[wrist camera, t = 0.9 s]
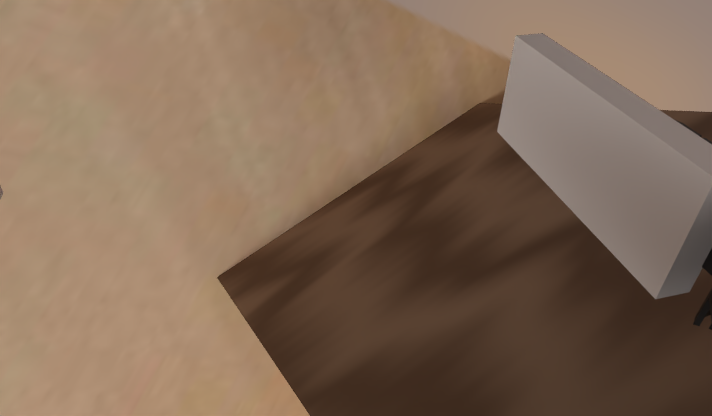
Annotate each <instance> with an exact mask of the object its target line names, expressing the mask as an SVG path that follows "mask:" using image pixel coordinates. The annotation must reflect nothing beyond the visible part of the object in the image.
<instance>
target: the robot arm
mask: <svg viewBox="0 0 712 416" xmlns="http://www.w3.org/2000/svg"><path fill="white" fill-rule="evenodd" d="M497 132H498V133H499V134H500V135H501V136H502V137H503V139H504V140H505V141H506V142H507V143H508V144H509V145H510V146H511V147H512V148H513V149H514V150H515V151H516V152H517V153H518V154H519V155H520V157H521V158H522V159H523V160H524V161H525V162H526V163H527V164H528V165H529V166H530V167H531V168H532V169H533V170H534V171H535V172H536V173H537V174H538V176H539V177H540V178H541V179H542V180H543V181H544V182H545V183H546V184H547V185H548V186H549V187H550V188H551V189H552V190H553V191H554V192H555V194H556V195H557V196H558V197H559V198H560V199H561V200H562V201H563V202H564V203H565V204H566V205H567V206H568V207H569V208H570V209H571V210H572V212H573V213H574V214H575V215H576V216H577V217H578V218H579V219H580V220H581V221H582V222H583V223H584V224H585V225H586V226H587V227H588V228H589V229H590V231H591V232H592V233H593V234H594V235H595V236H596V237H597V238H598V239H599V240H600V241H601V242H602V243H603V244H604V245H605V246H606V247H607V249H608V250H609V251H610V252H611V253H612V254H613V255H614V256H615V257H616V258H617V259H618V260H619V261H620V262H621V263H622V264H623V265H624V267H625V268H626V269H627V270H628V271H629V272H630V273H631V274H632V275H633V276H634V277H635V278H636V279H637V280H638V281H639V282H640V283H641V285H642V286H643V287H644V288H645V289H646V290H647V291H648V292H649V293H650V294H651V295H652V296H653V297H654V298H655V299H659V298H664V297H669V296H674V295H679V294H683V293H688V292H690V290H691V288H692V286H693V285H694V283H695V281H696V279H697V277H698V276H699V274H700V272H701V270H702V268H704V269H705V270H706V271H707V272H708V273H709V274H710V275H711V276H712V142H711V141H710V140H708V139H707V138H702V137H701V136H702V135H701V134H699V133H697V132H696V131H694V130H693V129H691V128H690V127H688V126H687V125H685V124H684V123H682V122H679V121H677V120H674V119H672V118H671V117H669V116H668V115H666V114H665V113H663V112H662V111H660V110H658V109H657V108H656V107H654V106H652V105H651V104H649V103H648V102H646V101H645V100H643V99H642V98H640V97H639V96H637V95H636V94H634V93H633V92H631V91H630V90H628V89H627V88H625V87H623V86H622V85H621V84H619V83H618V82H616V81H614V80H613V79H611V78H610V77H608V76H607V75H605V74H603V73H602V72H601V71H599V70H598V69H596V68H595V67H593V66H592V65H590V64H589V63H587V62H586V61H584V60H583V59H581V58H580V57H578V56H576V55H575V54H573V53H572V52H570V51H569V50H567V49H566V48H564V47H563V46H561V45H560V44H558V43H557V42H555V41H554V40H552V39H551V38H549V37H548V36H546V35H544V34H543V33H541V34H529V35H517V36H515V42H514V47H513V52H512V57H511V62H510V67H509V73H508V78H507V83H506V88H505V93H504V98H503V104H502V109H501V114H500V119H499V124H498V129H497ZM2 194H3V191H2V189H1V187H0V199H1V197H2ZM709 315H711V325H710V326H709V329H710V330H712V288H711V290H710V292H709V293H708V295H707V297H706V299H705V300H704V302H703V304H702V306H701V307H700V309H699V311H698V312H697V314H696V316H695V319H694V322H693V325H697V326H700V324H701V323H702V321H703V319H704V318H705V317H707V316H709Z"/></svg>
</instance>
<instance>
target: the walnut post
mask: <svg viewBox="0 0 712 416" xmlns="http://www.w3.org/2000/svg"><path fill="white" fill-rule="evenodd" d="M501 109H502V104H486V103H480V104H478V105H477V106H475V107H474V108H472V109H471V110H469V111H468V112H466V113H465V114H463V115H462V116H460V117H459V118H457V119H455V120H454V121H452V122H451V123H449V124H448V125H446V126H445V127H443V128H442V129H440V130H439V131H437V132H436V133H434V134H433V135H431V136H430V137H428V138H427V139H425V140H424V141H422V142H421V143H419V144H418V145H416V146H415V147H413V148H412V149H410V150H409V151H407V152H406V153H404V154H403V155H401V156H400V157H398V158H397V159H395V160H394V161H392V162H391V163H389V164H388V165H386V166H385V167H383V168H382V169H380V170H379V171H377V172H376V173H374V174H373V175H371V176H370V177H368V178H367V179H365V180H364V181H362V182H361V183H359V184H357V185H356V186H354V187H353V188H351V189H350V190H348V191H347V192H345V193H344V194H342V195H341V196H339V197H338V198H336V199H335V200H333V201H332V202H330V203H329V204H327V205H326V206H324V207H323V208H321V209H320V210H318V211H317V212H315V213H314V214H312V215H311V216H309V217H308V218H306V219H305V220H303V221H302V222H300V223H299V224H297V225H296V226H294V227H293V228H291V229H290V230H288V231H287V232H285V233H284V234H282V235H281V236H279V237H278V238H276V239H275V240H273V241H272V242H270V243H269V244H267V245H266V246H264V247H263V248H261V249H259V250H258V251H256V252H255V253H253V254H252V255H250V256H249V257H247V258H246V259H244V260H243V261H241V262H240V263H238V264H237V265H235V266H234V267H232V268H231V269H229V270H228V271H226V272H225V273H223V274H222V275H220V276H219V277H217V278H218V279H219V281H220V282H221V284H222V285H223V287H224V288H225V290H226V291H227V293H228V294H229V296H230V297H231V299H232V300H233V302H234V303H235V305H236V306H237V308H238V309H239V311H240V312H241V314H242V315H243V317H244V318H245V320H246V321H247V323H248V324H249V325H250V327H251V328H252V330H253V331H254V333H255V334H256V336H257V337H258V339H259V340H260V342H261V343H262V345H263V346H264V348H265V349H266V351H267V352H268V354H269V355H270V357H271V358H272V360H273V361H274V363H275V364H276V366H277V367H278V369H279V370H280V372H281V373H282V375H283V376H284V377H285V379H286V380H287V382H288V383H289V385H290V386H291V388H292V389H293V391H294V392H295V394H296V395H297V397H298V398H299V400H300V401H301V403H302V404H303V406H304V407H305V409H306V410H307V412H308V413H309V415H310V416H712V330H710V329H709V326H710V325H711V315H709V316H707V317H705V318H704V319H703V321H702V323H701V324H700V326H697V325H693V322H694V319H695V316H696V314H697V312H698V311H699V309H700V307H701V306H702V304H703V302H704V300H705V299H706V297H707V295H708V293H709V292H710V290H711V288H712V276H711V275H710V274H709V273H708V272H707V271H706V270H705V269H704V268H702V270H701V272H700V274H699V276H698V277H697V279H696V281H695V283H694V285H693V286H692V288H691V290H690V292H688V293H683V294H679V295H674V296H669V297H664V298H659V299H655V298H654V297H653V296H652V295H651V294H650V293H649V292H648V291H647V290H646V289H645V288H644V287H643V286H642V285H641V283H640V282H639V281H638V280H637V279H636V278H635V277H634V276H633V275H632V274H631V273H630V272H629V271H628V270H627V269H626V268H625V267H624V265H623V264H622V263H621V262H620V261H619V260H618V259H617V258H616V257H615V256H614V255H613V254H612V253H611V252H610V251H609V250H608V249H607V247H606V246H605V245H604V244H603V243H602V242H601V241H600V240H599V239H598V238H597V237H596V236H595V235H594V234H593V233H592V232H591V231H590V229H589V228H588V227H587V226H586V225H585V224H584V223H583V222H582V221H581V220H580V219H579V218H578V217H577V216H576V215H575V214H574V213H573V212H572V210H571V209H570V208H569V207H568V206H567V205H566V204H565V203H564V202H563V201H562V200H561V199H560V198H559V197H558V196H557V195H556V194H555V192H554V191H553V190H552V189H551V188H550V187H549V186H548V185H547V184H546V183H545V182H544V181H543V180H542V179H541V178H540V177H539V176H538V174H537V173H536V172H535V171H534V170H533V169H532V168H531V167H530V166H529V165H528V164H527V163H526V162H525V161H524V160H523V159H522V158H521V157H520V155H519V154H518V153H517V152H516V151H515V150H514V149H513V148H512V147H511V146H510V145H509V144H508V143H507V142H506V141H505V140H504V139H503V137H502V136H501V135H500V134H499V133H498V132H497V129H498V124H499V119H500V114H501ZM660 111H662V112H663V113H665V114H666V115H668V116H669V117H671V118H672V119H674V120H677V121H679V122H682V123H684V124H685V125H687V126H688V127H690V128H691V129H693V130H694V131H696V132H697V133H699V134H701V135H702V136H701V137H702V138H707V139H708V140H710V141H711V142H712V112H694V111H668V110H667V111H666V110H660Z"/></svg>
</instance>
